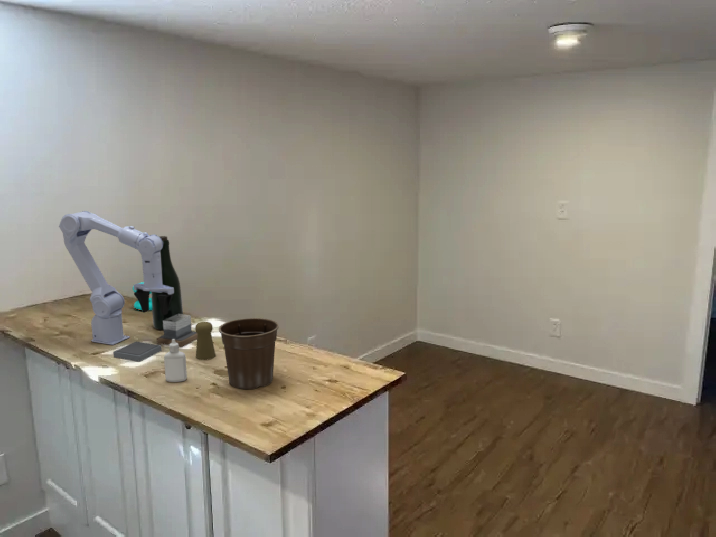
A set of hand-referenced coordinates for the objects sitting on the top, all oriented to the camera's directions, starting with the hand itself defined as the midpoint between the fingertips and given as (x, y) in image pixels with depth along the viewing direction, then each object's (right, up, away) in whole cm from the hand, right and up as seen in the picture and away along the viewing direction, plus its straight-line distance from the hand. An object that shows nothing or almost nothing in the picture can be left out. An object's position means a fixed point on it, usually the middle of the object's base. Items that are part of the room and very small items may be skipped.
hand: (155, 313), depth 187 cm
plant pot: (+37, -17, -27) cm, 49 cm away
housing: (+6, -8, +4) cm, 11 cm away
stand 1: (-3, -12, -8) cm, 15 cm away
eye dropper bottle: (+16, -17, -27) cm, 36 cm away
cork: (+19, -13, -10) cm, 25 cm away
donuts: (-18, -1, +41) cm, 45 cm away
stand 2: (+6, -10, +4) cm, 12 cm away
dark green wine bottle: (-2, -6, +19) cm, 20 cm away
